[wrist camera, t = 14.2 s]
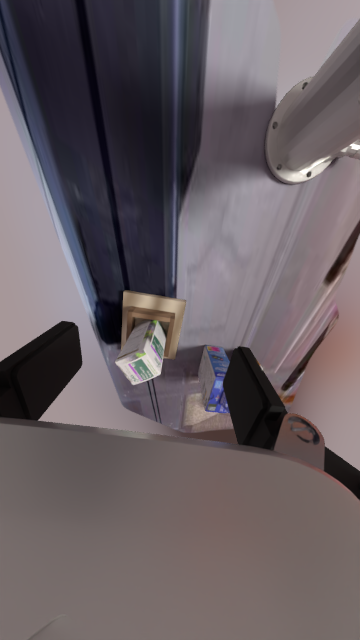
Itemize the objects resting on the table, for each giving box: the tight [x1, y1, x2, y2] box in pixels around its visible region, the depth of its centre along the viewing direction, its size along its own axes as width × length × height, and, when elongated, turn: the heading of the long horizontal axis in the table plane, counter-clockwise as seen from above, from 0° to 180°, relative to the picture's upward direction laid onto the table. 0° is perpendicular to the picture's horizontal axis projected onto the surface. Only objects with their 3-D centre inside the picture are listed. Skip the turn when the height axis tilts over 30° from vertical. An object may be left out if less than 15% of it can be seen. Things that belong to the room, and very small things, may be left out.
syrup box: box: [115, 319, 167, 385], centre depth 34 cm, size 6×6×14 cm
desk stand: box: [121, 290, 186, 360], centre depth 39 cm, size 14×16×5 cm
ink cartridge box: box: [198, 345, 230, 413], centre depth 40 cm, size 10×6×14 cm, turn 171°
